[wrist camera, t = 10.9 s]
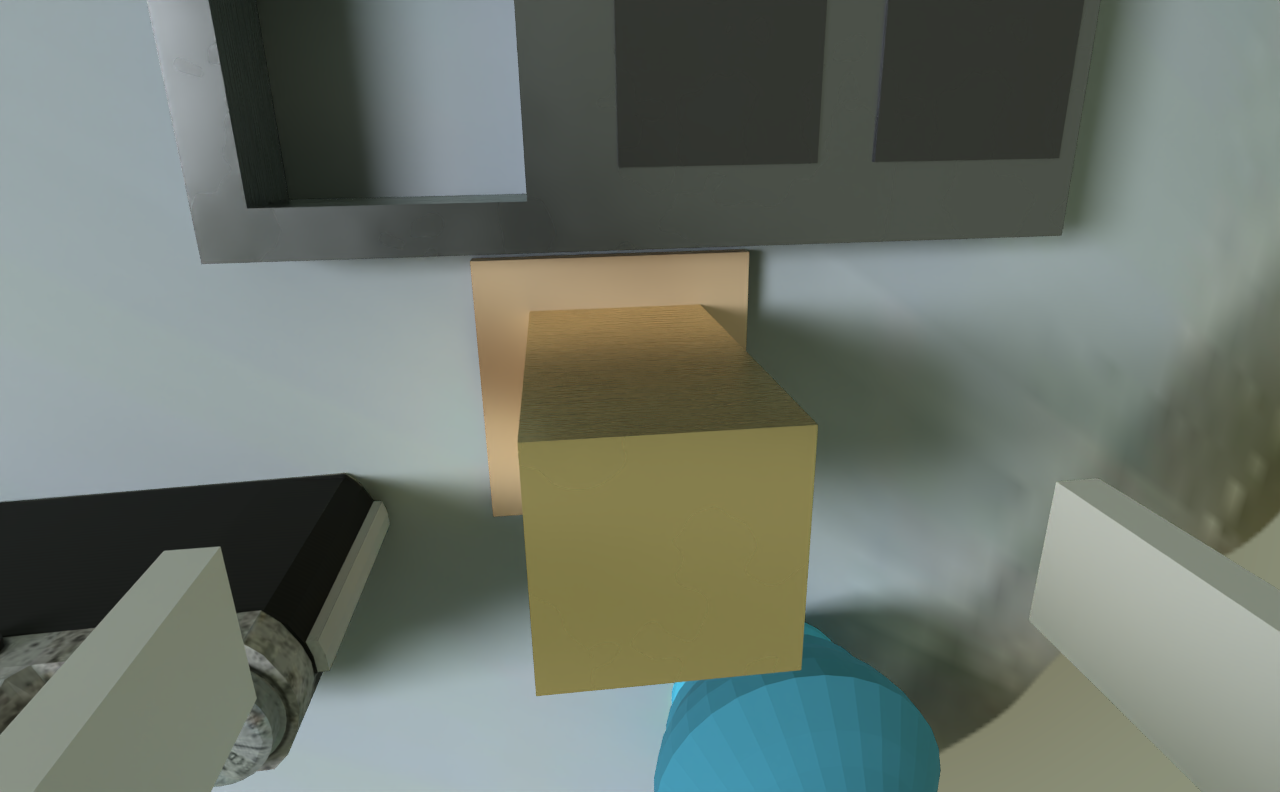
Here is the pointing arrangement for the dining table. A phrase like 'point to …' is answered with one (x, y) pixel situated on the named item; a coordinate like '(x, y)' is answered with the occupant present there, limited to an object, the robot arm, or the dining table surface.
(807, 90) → the grey slotted tray
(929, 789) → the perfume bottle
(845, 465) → the dining table surface
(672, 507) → the block
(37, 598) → the camera
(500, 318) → the cork mat
